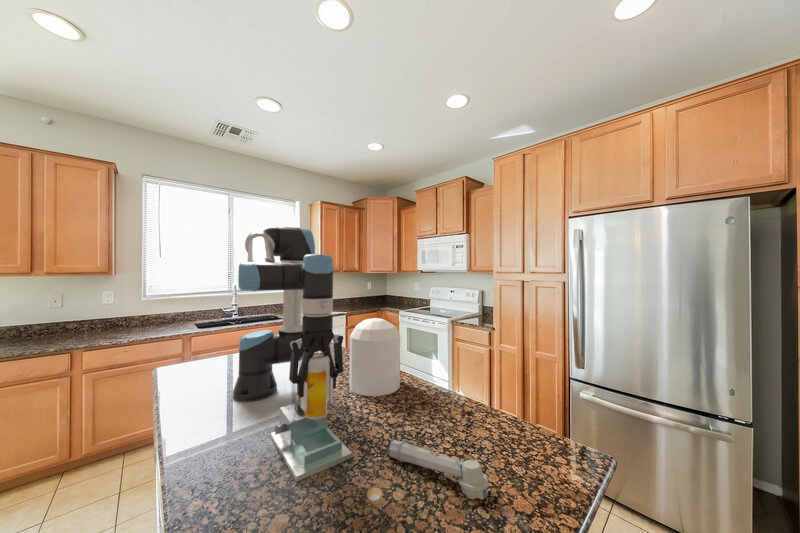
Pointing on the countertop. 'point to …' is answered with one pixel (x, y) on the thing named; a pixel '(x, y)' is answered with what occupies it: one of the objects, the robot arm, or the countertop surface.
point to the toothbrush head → (443, 467)
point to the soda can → (318, 386)
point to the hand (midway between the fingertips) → (316, 405)
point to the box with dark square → (307, 443)
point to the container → (374, 358)
